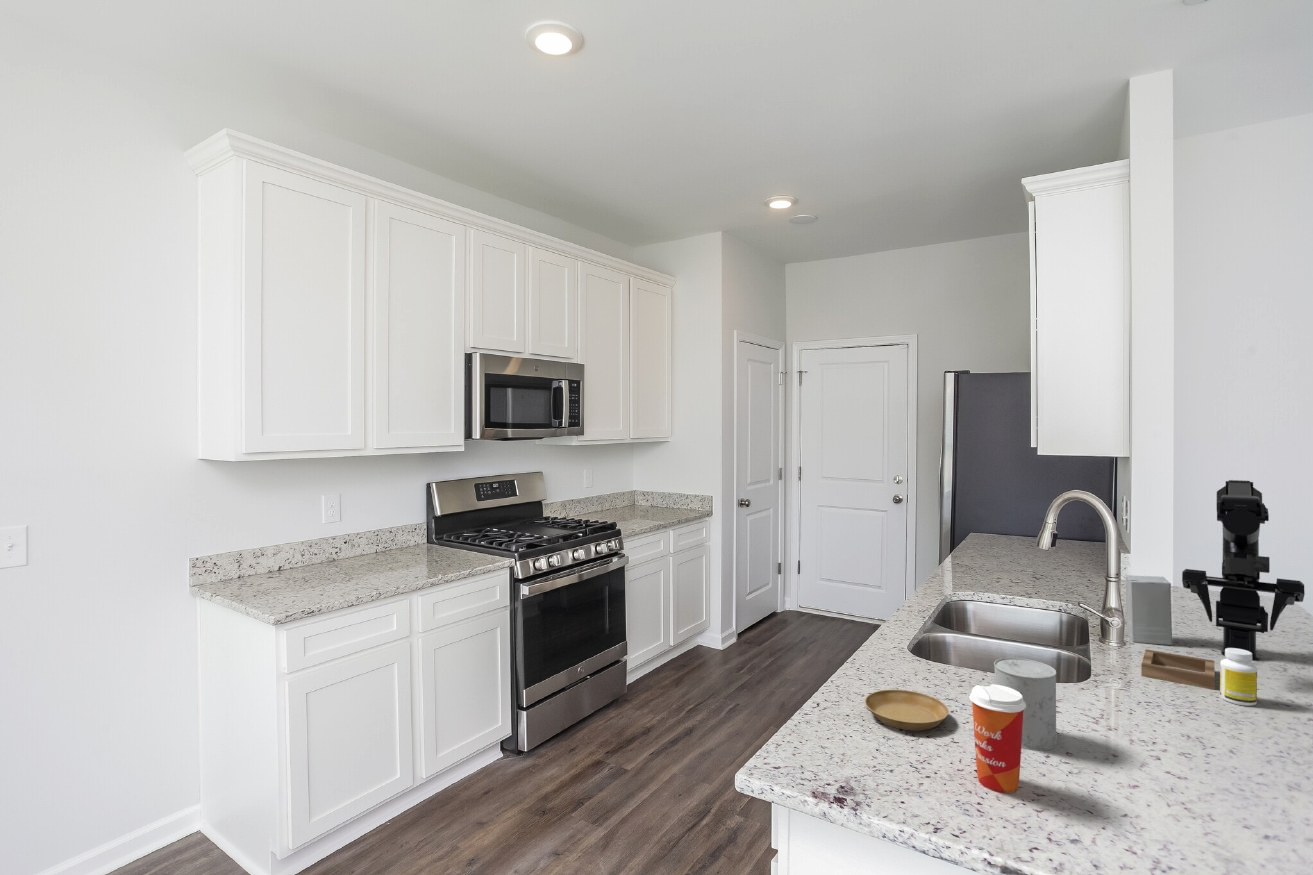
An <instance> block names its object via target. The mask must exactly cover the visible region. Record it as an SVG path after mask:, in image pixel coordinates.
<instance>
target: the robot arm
mask: <svg viewBox="0 0 1313 875" xmlns="http://www.w3.org/2000/svg"><path fill="white" fill-rule="evenodd" d="M1269 515H1270V514H1269V508H1267V506H1266V505H1265V503H1263V493H1262V492H1261V491H1259V490H1258V489H1257V488H1255V487H1254V482H1253V481H1251V480H1239V479H1237V480H1235V479H1229V480H1227V481H1225V485H1224V486H1223V487H1221V488H1220V489H1218V490H1217V491H1216V521H1217V522H1221V523H1222V561H1221V562H1222V563H1221V577H1218V576H1217V577H1216V576H1209V575H1207V570H1199V569H1191V568H1190V569H1189V568H1185V569H1184V570H1182V574H1181V582H1182V587H1183V588H1184V589H1186V590H1187V589H1189V590H1190V593H1193V594H1196V595H1197V596H1198V598H1199V600H1200V602H1201V603H1202V605H1203V608H1204V610H1205V614H1206V616H1207V618H1208V621H1209V622H1210V623H1212V622H1213V610H1212V604H1211V598H1210V593H1209V592H1210V591H1209V586H1211V587H1220V588H1221V590H1220V591H1219V600H1215V626H1216V627H1217V628H1219V627H1220V628H1223V629H1222V630H1223V632H1222V633H1223V635H1222V636H1223V637H1222V639H1223V644H1221V645H1220V654H1221V655H1224V656H1225V649H1226V648H1237V649H1243V650H1246V651H1249V652H1251V653H1252V660H1255V661H1259V660H1260V656H1259V651H1258V650H1257V633H1261V634H1265V633H1269V630H1270V632H1271V631H1272V632H1274V629H1275V627H1276V624H1277V623H1278V620H1279V618H1280V615H1282V612H1283V611H1284V610H1285V609H1286V607H1287V606H1288V605H1289V606H1293V605H1295V602H1296V603H1302V602H1304V598H1305V595H1306V594H1305V584H1304V583H1303V582H1302V581H1301V580H1296V579H1286V578H1276V583H1275V582H1274V583H1272V582H1266V581H1265V582H1264V581H1260V579H1261V578H1260V577H1261V573H1266V574H1269V573H1270V556H1262V555H1260V552H1259V550H1260V545H1259V543H1260V542H1259V540H1260V539H1259V537H1260V529H1261V524H1262V525H1264V524H1265V523H1266V522H1269V518H1270V517H1269ZM1258 592H1264V593H1269V594H1270V593H1272V594H1274V598H1273V603H1272V610H1271V615H1270V620H1269V613H1268V612H1267V611H1266V609H1265V606H1263V605H1261V598H1260V595H1259V594H1260V593H1258Z"/></svg>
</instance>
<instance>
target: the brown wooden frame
mask: <svg viewBox="0 0 1313 875" xmlns="http://www.w3.org/2000/svg"><path fill="white" fill-rule="evenodd" d="M1215 665H1216V664H1215V660H1213V659H1207V658H1201V657H1200V658H1199V657H1194V656H1188V655H1183V654H1177V653H1171V652H1165V651H1159V650H1153V649H1148V648H1146V649H1145V651H1144V653H1143V658H1142V661H1141V667H1140V668H1141V670H1140V672H1141V674H1140V675H1141V677H1145V678H1151V679H1155V680H1161V681H1166V682H1172V683H1176V684H1177V683H1178V684H1182V683H1183V685H1188V686H1192V685H1194V686H1193V687H1197V686H1199V687H1198V688H1202V689H1203V688H1204V689H1209V690H1212V691H1213V690H1215V689H1216V688H1215V687H1216V685H1215V681H1216V679H1215V678H1216V677H1215ZM1194 670H1195V671H1194Z"/></svg>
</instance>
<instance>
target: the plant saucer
mask: <svg viewBox="0 0 1313 875" xmlns="http://www.w3.org/2000/svg"><path fill="white" fill-rule="evenodd" d="M864 703H865V704H864V705H865V706H866V708H867V709H868V710H869V712H870V713H871V714H872V715H873V716H874V717H875V718H876V719H877V720H878V721H880V722H881V723H883V724H884V725H886V726H889V727H892V728H895V729H898V730H904V731H913V732H914V731H915V732H918V731H926V730H931V729H933V728H935V727H936V726H938V725H939V724H941V723H942V722H943V721H944V720H946V717H948V715H949V712H950V711H949V708H948V706H947V705H946V704H945V703H944V702H943V701H941V700H939V699H937V698H935V697H934V696H931V695H928V694H925V693H921V692H917V691H913V690H906V689H881V690H877V691H874V692H872V693H870V694H868V695H867V696H865V699H864Z"/></svg>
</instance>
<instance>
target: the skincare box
mask: <svg viewBox="0 0 1313 875" xmlns="http://www.w3.org/2000/svg"><path fill="white" fill-rule="evenodd" d="M1171 588H1172V583H1171V582H1170V581H1168V579H1166V577H1164V576H1156V575H1155V576H1153V575H1152V576H1150V575H1149V576H1148V575H1133V574H1132V575H1131V574H1129V575H1128V574H1126V575H1125V602H1126V603H1125V604H1126V609H1125V610H1126V635H1127V637H1129V639H1130V640H1131V642H1132V643H1139V644H1154V645H1167V646H1173V624H1172V623H1173V622H1172V592H1171V591H1172V589H1171Z"/></svg>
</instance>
